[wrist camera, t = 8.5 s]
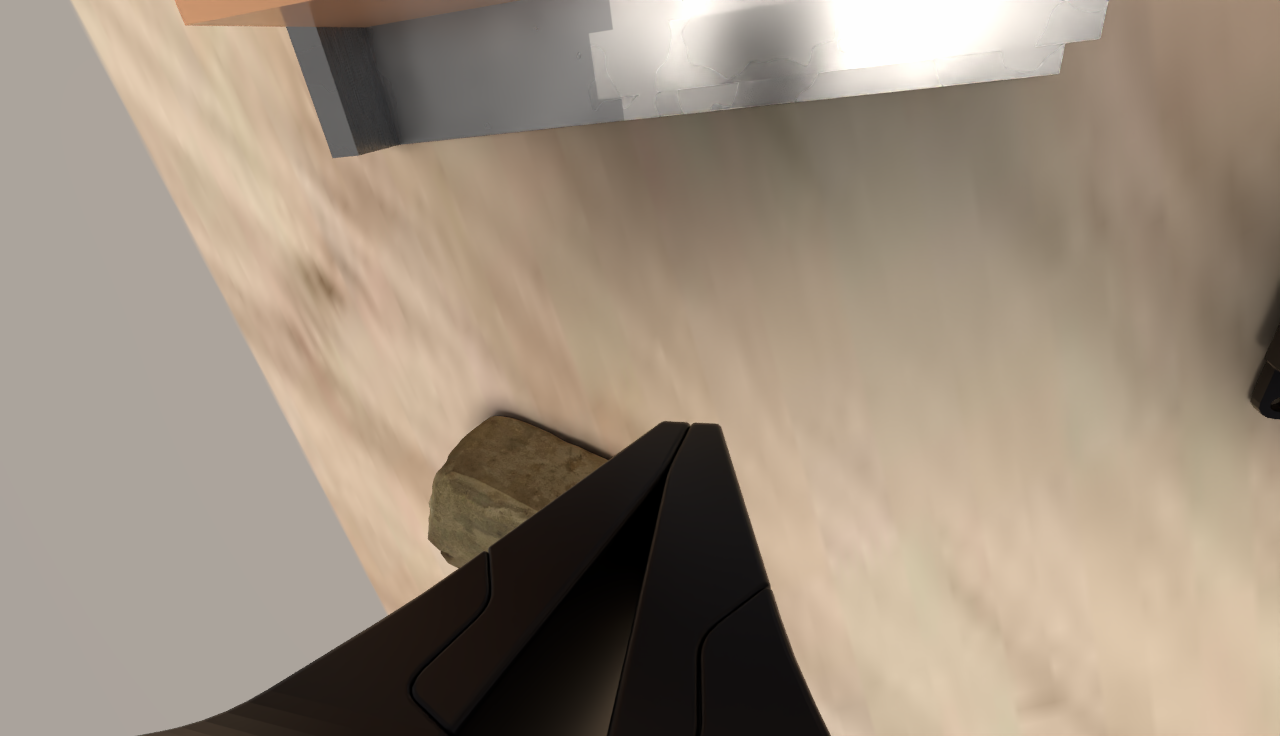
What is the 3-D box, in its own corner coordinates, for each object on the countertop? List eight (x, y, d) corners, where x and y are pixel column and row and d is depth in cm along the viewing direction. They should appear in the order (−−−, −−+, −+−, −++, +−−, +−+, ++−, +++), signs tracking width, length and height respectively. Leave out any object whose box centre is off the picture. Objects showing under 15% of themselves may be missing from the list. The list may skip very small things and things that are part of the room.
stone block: (490, 395, 25) (425, 466, 21) (731, 502, 25) (712, 597, 21) (471, 483, 29) (411, 560, 24) (684, 580, 28) (660, 676, 24)
